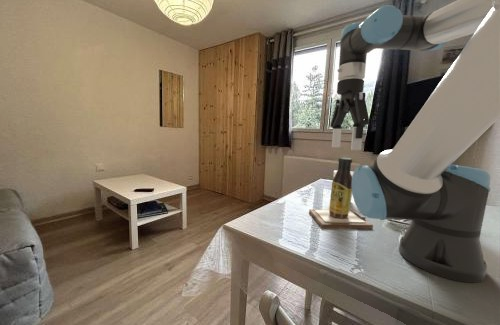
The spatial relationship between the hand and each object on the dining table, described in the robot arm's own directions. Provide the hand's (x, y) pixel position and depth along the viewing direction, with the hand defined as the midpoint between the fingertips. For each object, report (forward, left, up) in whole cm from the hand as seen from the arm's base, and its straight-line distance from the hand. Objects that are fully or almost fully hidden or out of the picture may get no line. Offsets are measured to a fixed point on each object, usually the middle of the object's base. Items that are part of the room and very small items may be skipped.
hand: (344, 148), depth 68 cm
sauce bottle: (0, 0, -23) cm, 23 cm away
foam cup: (+21, -11, -25) cm, 35 cm away
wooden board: (0, 0, -25) cm, 25 cm away
